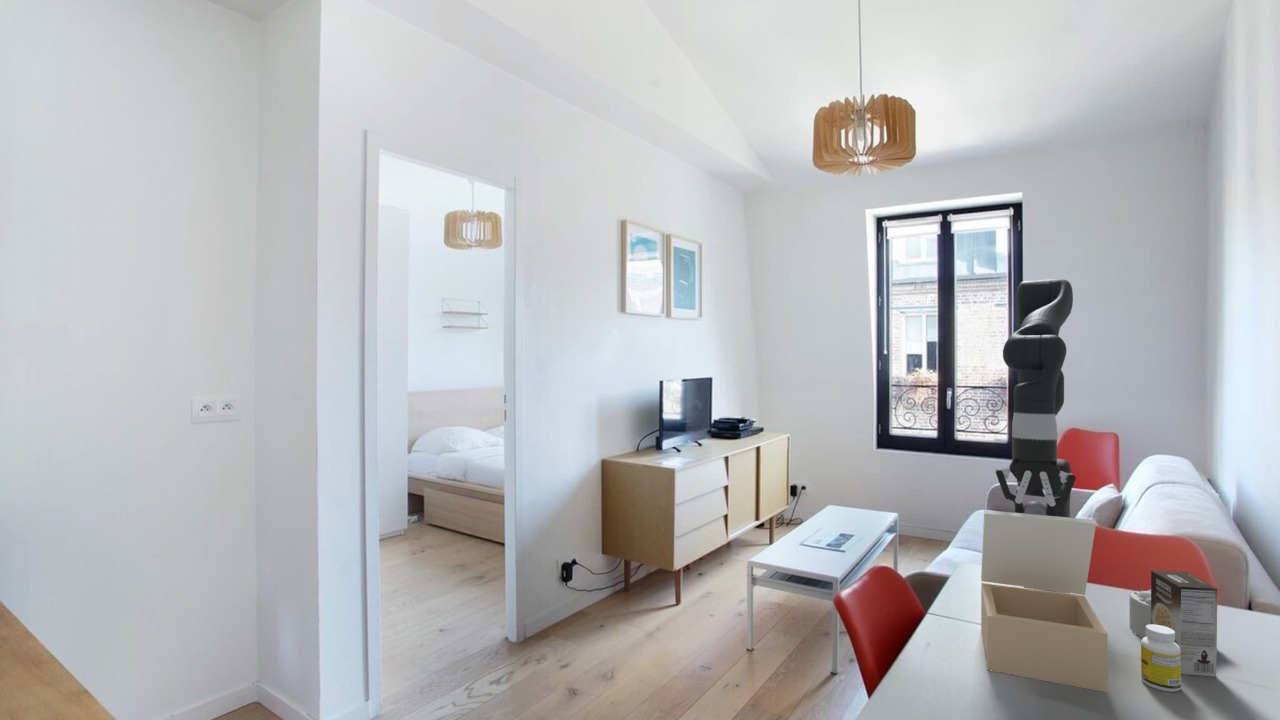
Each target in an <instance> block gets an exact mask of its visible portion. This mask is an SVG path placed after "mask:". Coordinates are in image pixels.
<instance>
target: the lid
mask: <svg viewBox="0 0 1280 720" xmlns="http://www.w3.org/2000/svg"><path fill="white" fill-rule="evenodd" d="M1044 505H1045V504H1042V503H1041V502H1039V501H1035V500H1033V501H1032V500H1031V501H1028V502H1026V503H1025V504H1023V513H1014V512H1011V511H1001V510H1000V511H998V510H990V509H989V510H988V509H984V510H983V526H982V527H983V529H982V552H981V553H982V554H981V573H980V574H981V575H980V578H981V579H980V580H981V582H983V583H991V584H999V585H1006V586H1014V587H1021V588H1024V587H1029V588H1037V589H1044V590H1052V591H1060V592H1067V593H1070V594H1074V595H1082V596H1085V595H1086V591H1087V585H1088V578H1089V577H1088V576H1089V572H1090V564H1091V558H1092V551H1093V547H1094V546H1093V545H1094V539H1095V533H1096V527H1097V521H1096V519H1090V518H1078V517H1070V518H1068V517H1057V516H1046V515H1047V511H1046V508H1045V507H1044Z"/></svg>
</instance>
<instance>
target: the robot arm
mask: <svg viewBox="0 0 1280 720" xmlns="http://www.w3.org/2000/svg"><path fill="white" fill-rule="evenodd" d="M1073 295H1074V294H1073V287H1072V284H1071V282H1070V281H1069V280H1066V279H1063V278H1052V279H1048V278H1047V279H1036V280H1035V279H1034V280H1023V281H1021V282H1020V283H1019V284H1018V286H1017V289H1016V313H1017V314H1016V315H1017V316H1016V317H1017V329H1018V330H1016V331H1014V333H1012V334H1011V335H1010V336H1009V337H1008V338H1007V340H1006V341H1005V343H1004V346H1003V348H1002V359H1003V361H1004V363H1005V365H1006V366H1008V367H1009V368H1010V369H1012V370H1013V371H1018V376H1017V377H1018V378H1017V384H1015V386H1014V388H1013V418H1012V421H1011V423H1012V424H1011V425H1012V426H1011V427H1012V428H1011V435H1012V439H1011V440H1012V441H1011V442H1012V443H1011V444H1012V445H1011V456H1012V457H1011V458H1012V459H1011V463H1010V464H1009V467H1005V468H996V469H995V471H994V472H995V474H996V475H995V476H996V479H997V481H998V483H999V485H1000V488H1001V492H1002V494H1003V496H1004V498H1005V499H1006V500H1009V501H1012V502H1013V505H1014V512H1013V513H1023V507H1024V503H1023V499H1024V496H1032V497H1041V498H1045V501H1046V504H1044V505H1045V506H1044V507H1045V508H1046V511H1047V515H1046V516H1057V517H1068V518H1071V514H1070V513H1071V508H1070V507H1071V504H1070V503H1071V492H1072V490H1073V487H1074V484H1075V482H1076V479H1077V477H1076V475H1074V474H1073V473H1072V467H1071V465H1070V463H1069V461H1068V460H1066V459H1063V458H1058V434H1059V433H1058V424H1057V417H1056V416H1058V414H1059V412H1060V411H1061V409H1062V408H1063V406H1064V403H1065V375H1064V372H1063V371H1062V369H1063V368H1062V367H1063V364H1064V362H1065V360H1066V356H1067V345H1066V342H1065V341H1064V340H1063V338H1061V337H1060V336H1059V334H1060V329H1061V327H1062V326H1063V325H1064V324H1065V322H1066V320H1067V319H1068V318H1069V316H1070V314H1071V312H1072V309H1073V302H1074V296H1073ZM1010 473H1011V474H1012V476H1013V477H1015V479H1016V485H1017V486H1016V490H1015V493H1012V492H1011V491H1010V489H1009V486H1008V483H1007V480H1008V479H1009V477H1010V475H1009V474H1010ZM1023 588H1029V587H1023ZM1029 589H1037V588H1029ZM1037 590H1044V589H1037ZM1044 591H1052V590H1044ZM1052 592H1059V593H1067V592H1060V591H1052ZM1067 594H1071V593H1067Z"/></svg>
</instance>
